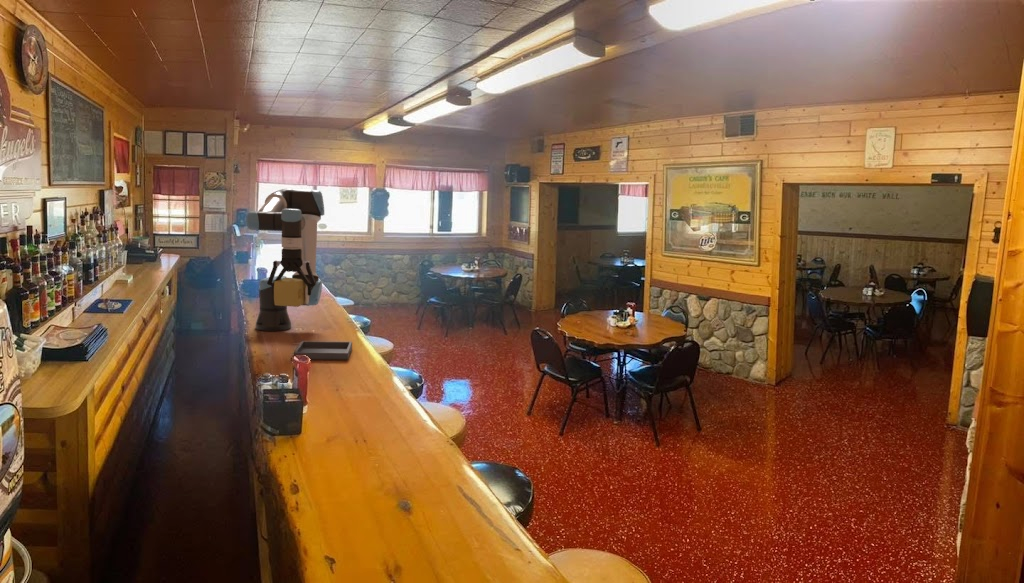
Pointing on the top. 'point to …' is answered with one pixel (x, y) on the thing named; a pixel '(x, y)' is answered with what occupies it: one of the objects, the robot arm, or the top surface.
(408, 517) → the top surface
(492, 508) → the top surface
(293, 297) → the cheese
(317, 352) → the tray
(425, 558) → the top surface
